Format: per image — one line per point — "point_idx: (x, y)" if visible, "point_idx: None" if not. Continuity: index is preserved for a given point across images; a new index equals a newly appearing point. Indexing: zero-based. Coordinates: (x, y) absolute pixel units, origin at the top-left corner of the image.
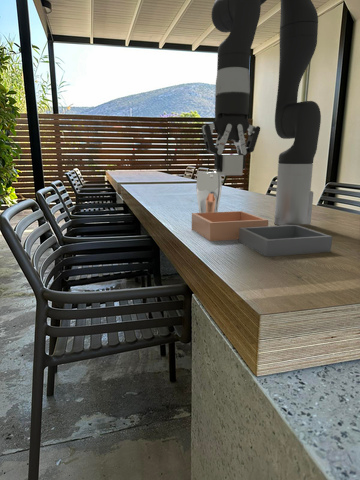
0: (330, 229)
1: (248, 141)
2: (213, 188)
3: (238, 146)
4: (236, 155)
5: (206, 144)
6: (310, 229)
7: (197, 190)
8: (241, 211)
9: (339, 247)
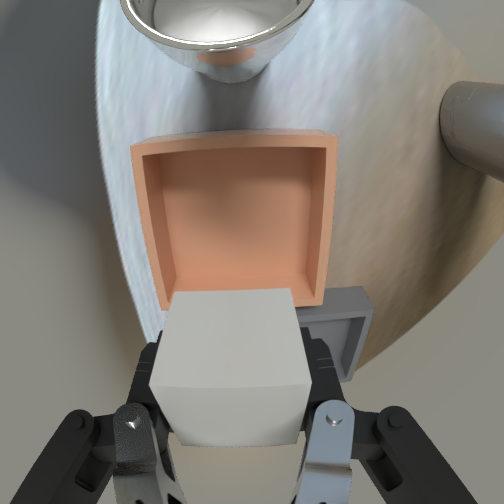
0: (492, 204)
1: (406, 477)
2: (226, 72)
3: (317, 464)
4: (254, 444)
5: (57, 450)
6: (363, 345)
7: (153, 25)
8: (331, 145)
9: (396, 323)
